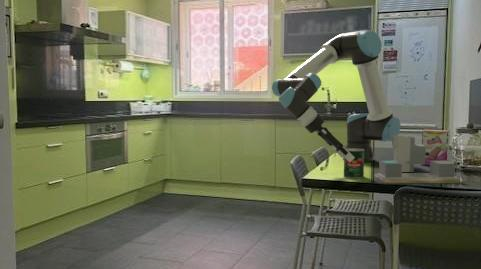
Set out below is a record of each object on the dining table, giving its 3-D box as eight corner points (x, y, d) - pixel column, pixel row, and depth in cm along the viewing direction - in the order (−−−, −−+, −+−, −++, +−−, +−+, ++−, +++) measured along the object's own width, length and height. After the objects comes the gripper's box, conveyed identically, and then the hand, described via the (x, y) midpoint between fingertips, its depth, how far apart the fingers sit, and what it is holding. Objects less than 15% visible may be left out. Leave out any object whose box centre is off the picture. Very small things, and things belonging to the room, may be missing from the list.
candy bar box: (420, 165, 217) (421, 130, 216) (423, 164, 222) (424, 129, 220) (446, 167, 211) (448, 131, 210) (448, 166, 215) (450, 130, 214)
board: (374, 176, 188) (374, 174, 188) (444, 176, 188) (444, 173, 188) (385, 183, 174) (385, 180, 174) (460, 182, 174) (460, 180, 174)
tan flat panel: (375, 175, 186) (375, 173, 186) (446, 174, 186) (446, 172, 186) (383, 179, 176) (383, 177, 176) (458, 179, 176) (458, 177, 176)
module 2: (429, 173, 185) (430, 160, 185) (445, 173, 185) (445, 160, 185) (438, 176, 177) (438, 163, 177) (454, 176, 177) (454, 163, 177)
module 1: (379, 173, 185) (379, 160, 185) (394, 173, 185) (394, 160, 185) (385, 177, 177) (385, 163, 177) (401, 177, 177) (401, 163, 177)
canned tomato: (349, 178, 184) (350, 150, 183) (340, 175, 192) (340, 148, 191) (367, 177, 187) (368, 150, 186) (357, 174, 194) (357, 147, 193)
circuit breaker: (429, 173, 196) (430, 137, 195) (393, 172, 199) (394, 136, 198) (425, 170, 204) (426, 135, 202) (391, 169, 206) (392, 135, 205)
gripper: (300, 124, 199) (335, 159, 201) (308, 129, 174) (348, 169, 176) (312, 112, 199) (347, 147, 200) (323, 114, 174) (363, 155, 175)
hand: (348, 157), depth 188 cm, fingers open, 13 cm apart
